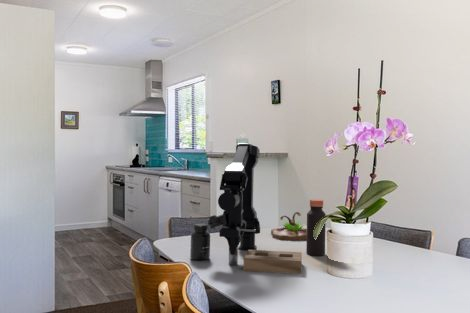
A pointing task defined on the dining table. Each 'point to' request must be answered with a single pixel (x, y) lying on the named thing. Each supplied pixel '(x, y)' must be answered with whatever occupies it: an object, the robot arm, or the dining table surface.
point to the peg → (233, 258)
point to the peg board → (273, 261)
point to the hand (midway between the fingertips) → (233, 253)
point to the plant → (290, 230)
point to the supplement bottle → (200, 243)
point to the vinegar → (313, 217)
